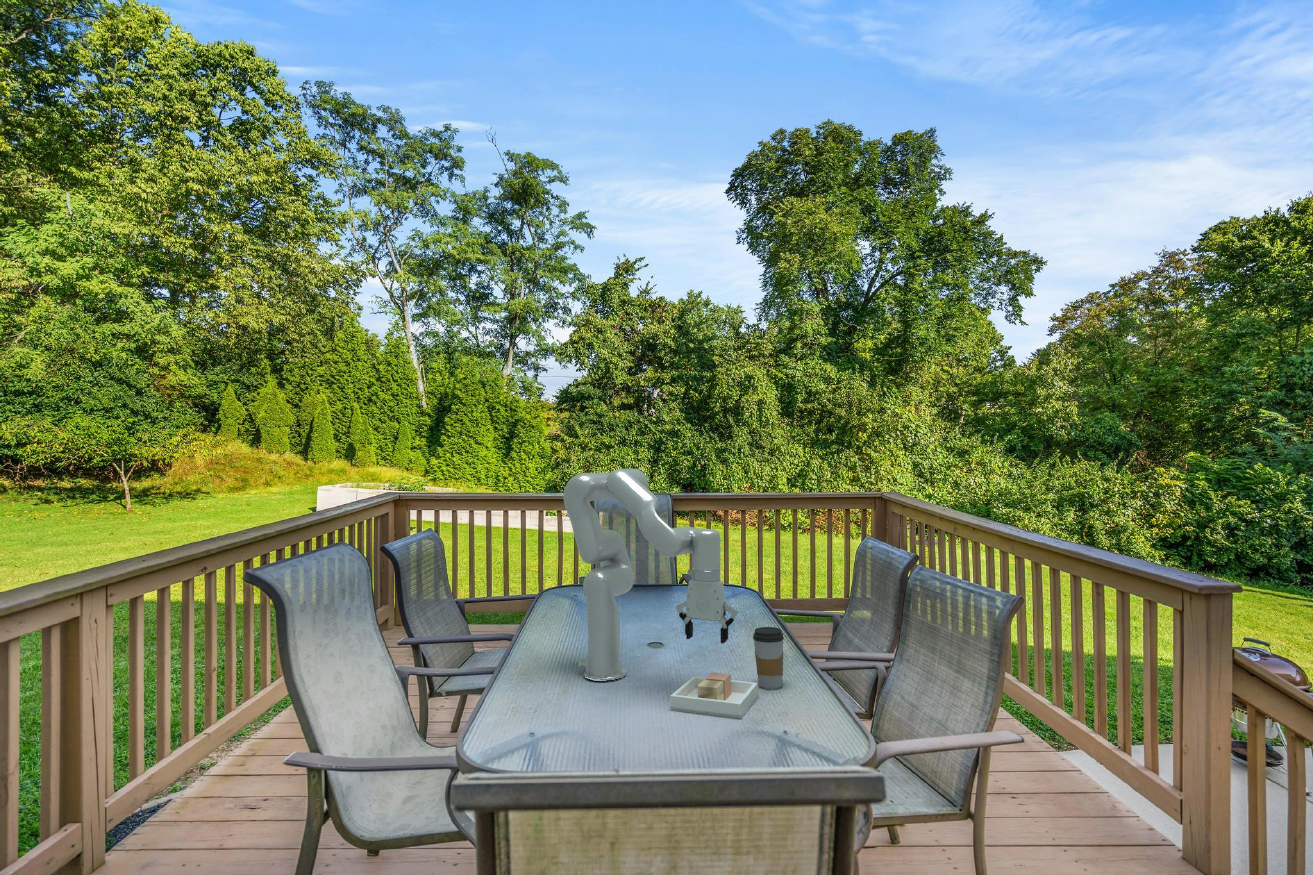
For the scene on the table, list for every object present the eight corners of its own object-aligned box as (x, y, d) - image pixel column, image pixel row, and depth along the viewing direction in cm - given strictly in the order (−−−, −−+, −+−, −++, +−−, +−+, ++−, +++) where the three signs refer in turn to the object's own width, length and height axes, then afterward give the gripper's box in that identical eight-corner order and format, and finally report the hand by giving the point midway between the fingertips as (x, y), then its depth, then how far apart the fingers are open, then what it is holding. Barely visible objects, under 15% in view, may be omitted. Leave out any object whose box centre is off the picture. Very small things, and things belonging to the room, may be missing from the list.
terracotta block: (706, 698, 160) (705, 678, 160) (713, 691, 165) (712, 672, 165) (725, 700, 158) (724, 680, 158) (731, 693, 163) (730, 674, 163)
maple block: (698, 706, 155) (697, 685, 155) (705, 699, 159) (704, 679, 160) (717, 708, 153) (716, 687, 153) (723, 701, 157) (723, 681, 157)
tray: (670, 710, 155) (670, 695, 155) (693, 689, 170) (693, 676, 170) (740, 719, 148) (740, 704, 148) (758, 696, 162) (757, 682, 162)
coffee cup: (786, 691, 165) (783, 634, 166) (754, 690, 167) (751, 633, 168) (786, 681, 173) (783, 626, 174) (755, 680, 175) (753, 626, 176)
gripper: (671, 575, 168) (671, 639, 167) (733, 580, 161) (733, 647, 160) (681, 571, 175) (681, 632, 174) (741, 575, 167) (741, 640, 167)
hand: (706, 640), depth 167 cm, fingers open, 9 cm apart
